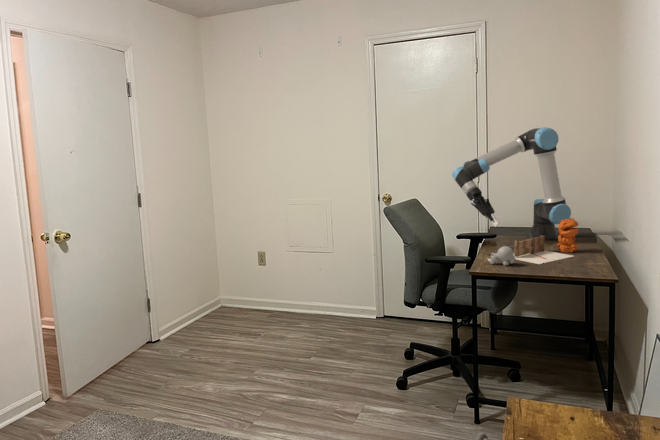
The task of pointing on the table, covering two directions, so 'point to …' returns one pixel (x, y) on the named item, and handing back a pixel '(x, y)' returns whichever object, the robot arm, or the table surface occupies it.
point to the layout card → (542, 257)
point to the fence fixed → (538, 244)
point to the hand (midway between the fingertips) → (497, 224)
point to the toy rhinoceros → (503, 256)
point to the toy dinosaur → (567, 235)
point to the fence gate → (522, 247)
